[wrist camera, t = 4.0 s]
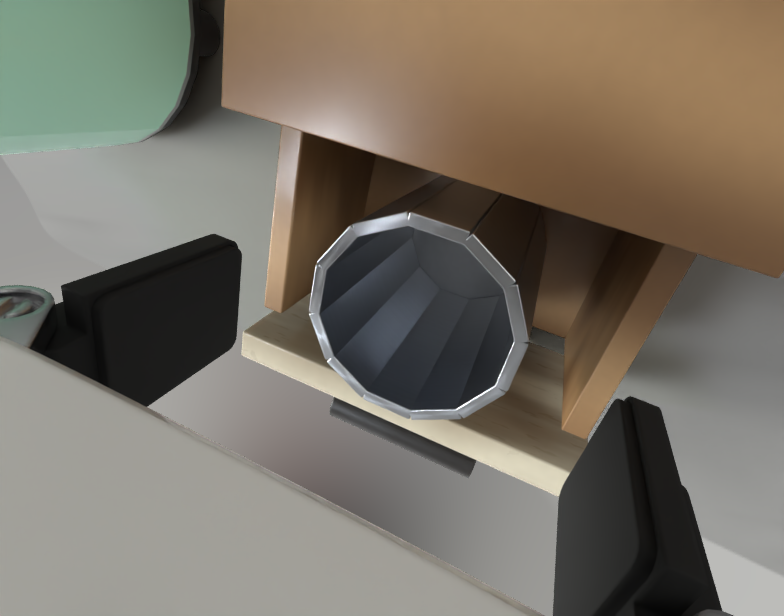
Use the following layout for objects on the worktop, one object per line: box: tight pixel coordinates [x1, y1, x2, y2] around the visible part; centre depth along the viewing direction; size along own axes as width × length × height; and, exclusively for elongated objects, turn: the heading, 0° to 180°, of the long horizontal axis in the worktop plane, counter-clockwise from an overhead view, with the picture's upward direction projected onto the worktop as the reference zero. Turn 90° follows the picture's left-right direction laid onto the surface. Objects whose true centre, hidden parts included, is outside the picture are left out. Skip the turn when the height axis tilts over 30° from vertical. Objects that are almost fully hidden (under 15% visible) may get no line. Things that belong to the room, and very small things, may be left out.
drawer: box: [242, 125, 697, 497], centre depth 17 cm, size 18×13×8 cm
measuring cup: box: [309, 175, 547, 420], centre depth 16 cm, size 6×6×9 cm
